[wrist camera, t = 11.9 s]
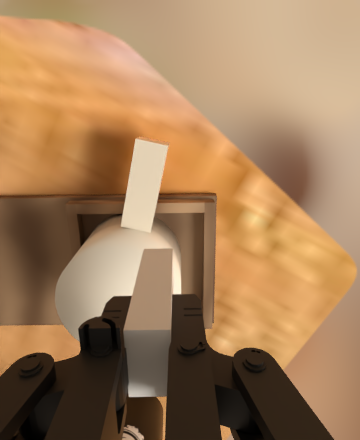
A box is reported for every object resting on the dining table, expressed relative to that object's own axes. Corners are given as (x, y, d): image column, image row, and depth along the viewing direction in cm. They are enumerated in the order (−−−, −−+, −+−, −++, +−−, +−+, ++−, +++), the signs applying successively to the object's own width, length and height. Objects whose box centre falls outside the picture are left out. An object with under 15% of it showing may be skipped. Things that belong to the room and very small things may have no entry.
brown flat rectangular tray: (-16, 320, 37) (-29, 333, 35) (-47, 196, 33) (-64, 202, 30) (212, 317, 37) (214, 331, 35) (215, 193, 33) (218, 199, 30)
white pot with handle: (170, 304, 36) (167, 364, 27) (81, 287, 35) (49, 343, 26) (208, 149, 30) (219, 162, 22) (104, 126, 29) (72, 130, 21)
